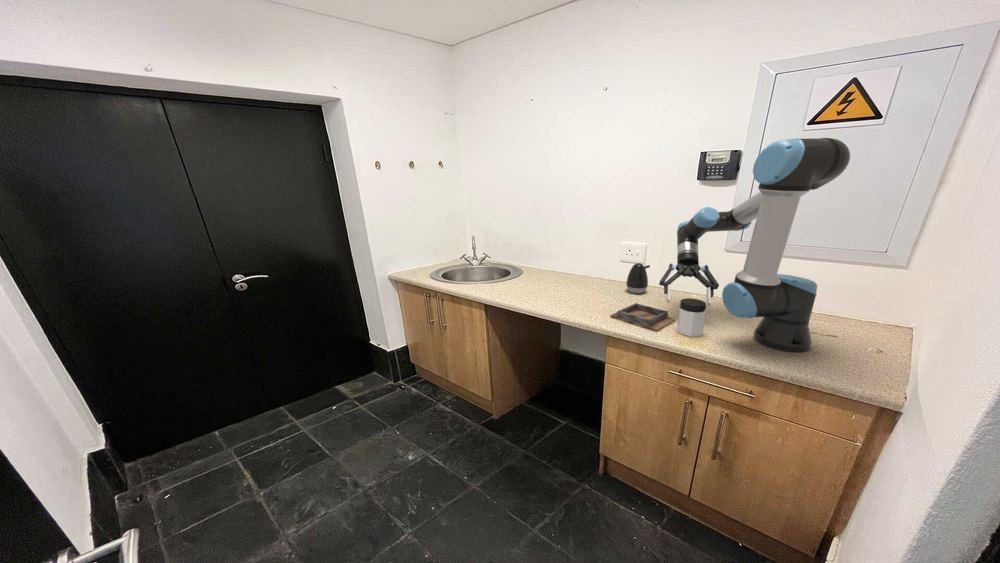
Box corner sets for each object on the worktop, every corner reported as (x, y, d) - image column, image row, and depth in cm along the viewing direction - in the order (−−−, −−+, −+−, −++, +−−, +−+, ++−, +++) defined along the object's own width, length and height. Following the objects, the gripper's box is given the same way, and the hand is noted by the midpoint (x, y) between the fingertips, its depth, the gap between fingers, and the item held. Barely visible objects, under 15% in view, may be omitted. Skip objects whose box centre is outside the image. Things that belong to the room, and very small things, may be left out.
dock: (675, 321, 134) (676, 313, 133) (656, 332, 125) (657, 323, 124) (629, 308, 149) (630, 301, 148) (610, 317, 140) (610, 309, 139)
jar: (703, 338, 118) (708, 307, 115) (677, 335, 122) (681, 304, 118) (700, 328, 126) (704, 299, 123) (676, 326, 130) (679, 296, 126)
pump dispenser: (648, 295, 164) (651, 266, 160) (625, 294, 168) (628, 265, 163) (646, 289, 173) (649, 261, 169) (625, 288, 177) (627, 260, 173)
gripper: (721, 262, 134) (724, 310, 125) (653, 259, 143) (651, 303, 134) (726, 251, 128) (729, 301, 119) (655, 249, 137) (653, 295, 128)
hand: (688, 302), depth 126 cm, fingers open, 13 cm apart
